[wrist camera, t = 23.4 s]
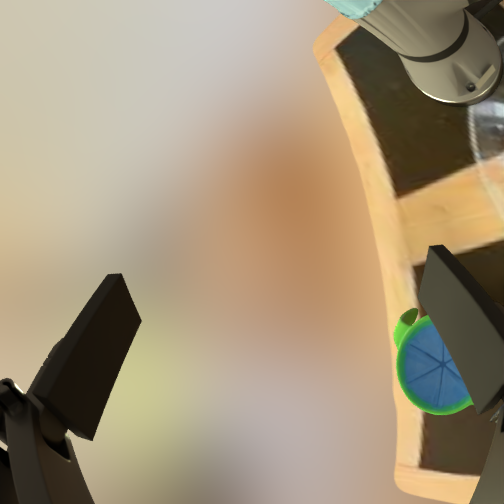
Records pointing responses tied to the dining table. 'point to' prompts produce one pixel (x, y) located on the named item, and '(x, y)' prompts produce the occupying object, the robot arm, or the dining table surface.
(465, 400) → the snack cup
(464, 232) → the dining table surface
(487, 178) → the dining table surface
